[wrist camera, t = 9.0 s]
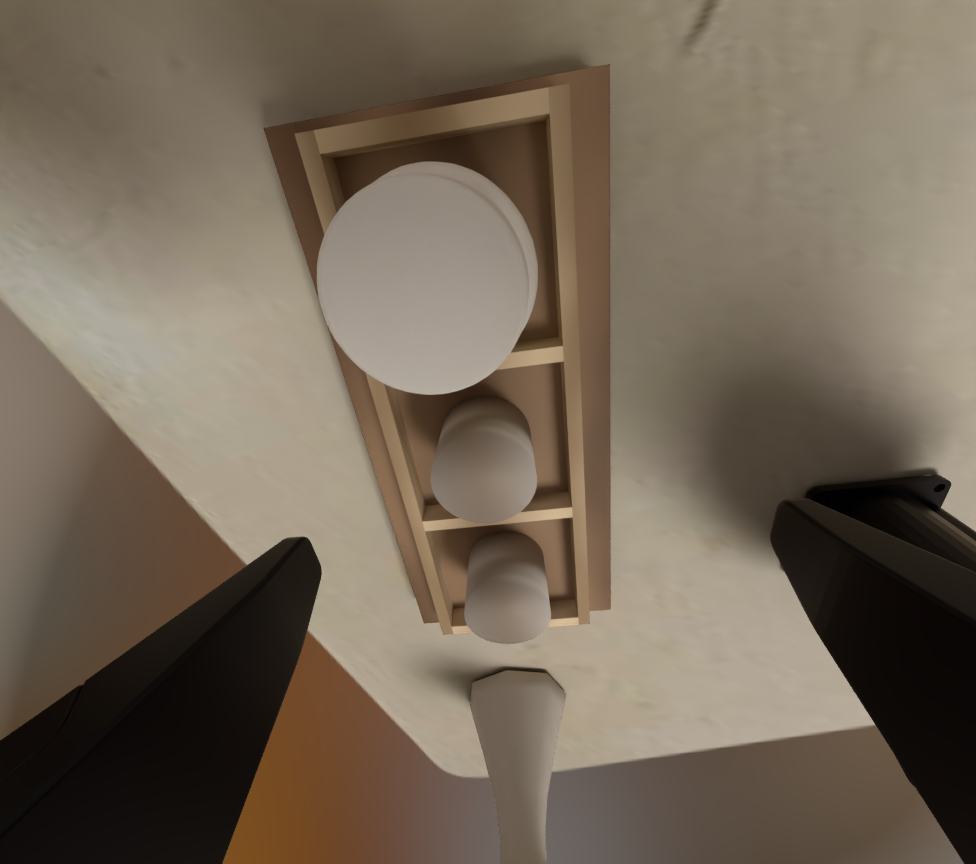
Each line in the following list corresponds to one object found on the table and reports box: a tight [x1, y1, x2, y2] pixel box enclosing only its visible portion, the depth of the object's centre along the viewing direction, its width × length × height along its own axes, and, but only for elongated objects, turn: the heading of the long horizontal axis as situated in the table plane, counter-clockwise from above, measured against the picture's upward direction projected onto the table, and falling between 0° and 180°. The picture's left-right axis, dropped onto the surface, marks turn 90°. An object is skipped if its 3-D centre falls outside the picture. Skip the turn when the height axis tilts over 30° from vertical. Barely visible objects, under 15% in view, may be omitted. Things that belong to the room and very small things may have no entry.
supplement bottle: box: [317, 162, 538, 395], centre depth 11 cm, size 5×5×8 cm
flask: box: [470, 670, 566, 864], centre depth 27 cm, size 7×7×10 cm
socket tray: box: [264, 64, 611, 644], centre depth 18 cm, size 11×24×5 cm, turn 8°
